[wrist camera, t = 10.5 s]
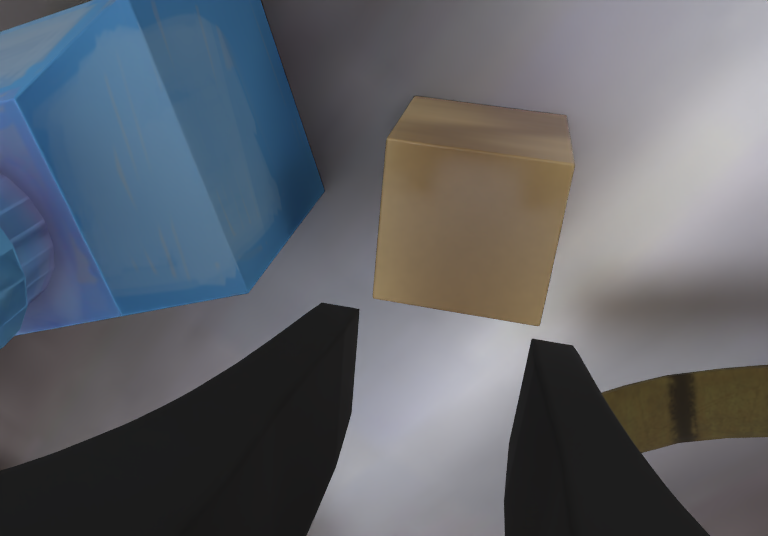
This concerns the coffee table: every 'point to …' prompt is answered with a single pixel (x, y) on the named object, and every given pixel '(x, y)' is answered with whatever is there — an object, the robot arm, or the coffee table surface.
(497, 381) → the coffee table surface
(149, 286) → the perfume bottle
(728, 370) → the teapot
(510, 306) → the block
